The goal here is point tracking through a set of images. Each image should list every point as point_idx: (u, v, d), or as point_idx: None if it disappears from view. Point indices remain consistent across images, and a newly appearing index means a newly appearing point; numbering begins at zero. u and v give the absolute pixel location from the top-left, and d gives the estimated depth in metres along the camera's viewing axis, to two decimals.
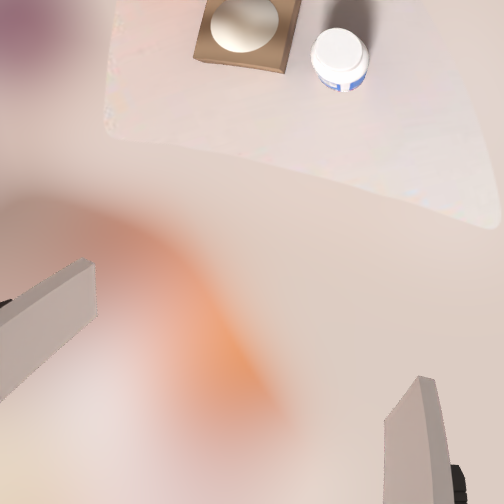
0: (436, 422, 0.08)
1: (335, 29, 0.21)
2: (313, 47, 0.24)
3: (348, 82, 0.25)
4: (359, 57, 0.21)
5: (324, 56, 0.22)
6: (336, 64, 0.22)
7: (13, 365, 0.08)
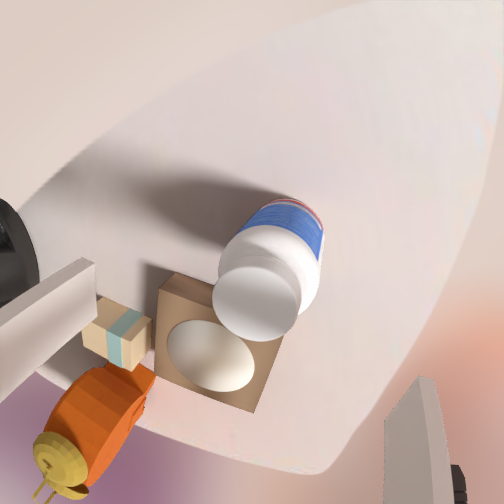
0: (436, 422, 0.08)
1: (215, 304, 0.15)
2: None
3: (317, 270, 0.16)
4: (270, 275, 0.13)
5: (270, 330, 0.15)
6: (286, 315, 0.14)
7: (13, 365, 0.08)
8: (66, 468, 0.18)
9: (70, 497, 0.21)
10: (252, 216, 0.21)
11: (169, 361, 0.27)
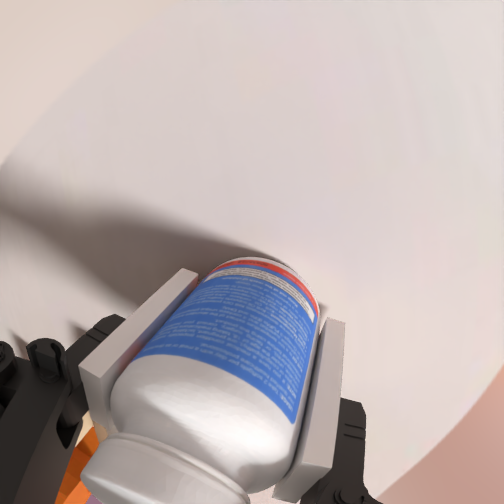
0: (334, 355, 0.10)
1: (94, 494, 0.06)
2: None
3: (290, 445, 0.07)
4: None
5: None
6: None
7: None
8: None
9: None
10: (191, 293, 0.12)
11: None
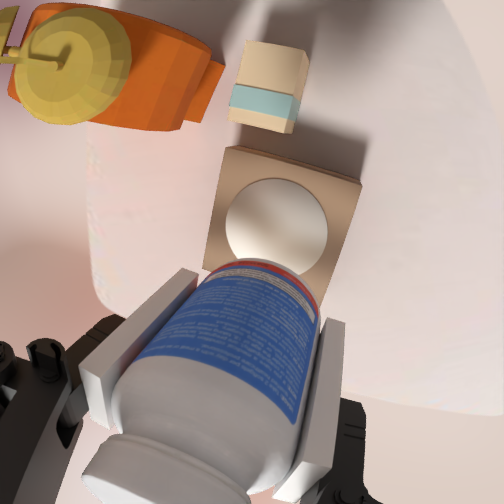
0: (334, 355, 0.10)
1: (95, 495, 0.06)
2: None
3: (291, 446, 0.07)
4: None
5: None
6: None
7: None
8: (74, 101, 0.10)
9: None
10: (191, 294, 0.12)
11: (257, 176, 0.22)
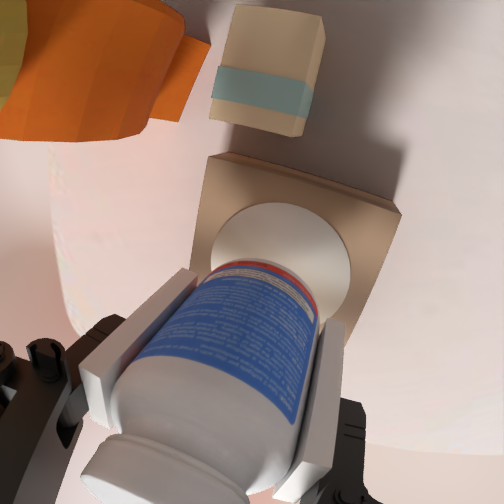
0: (334, 355, 0.10)
1: (94, 495, 0.06)
2: None
3: (290, 446, 0.07)
4: None
5: None
6: None
7: None
8: None
9: None
10: (191, 294, 0.12)
11: (252, 199, 0.16)
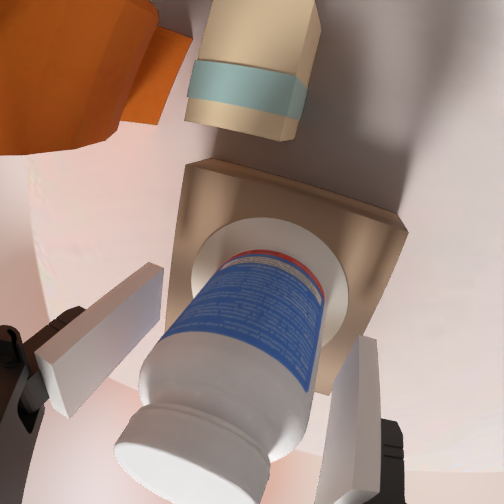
0: (370, 375, 0.09)
1: (124, 467, 0.07)
2: None
3: (304, 411, 0.08)
4: (198, 468, 0.05)
5: None
6: None
7: (89, 374, 0.09)
8: None
9: None
10: (208, 280, 0.13)
11: (236, 213, 0.14)
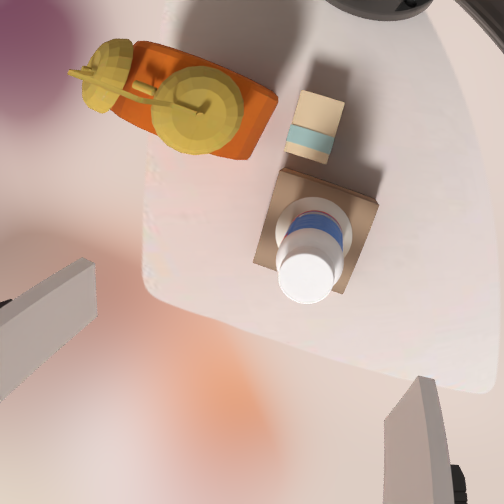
0: (436, 422, 0.08)
1: (280, 278, 0.23)
2: None
3: (343, 258, 0.24)
4: (318, 258, 0.21)
5: (315, 295, 0.23)
6: (326, 285, 0.22)
7: (13, 365, 0.08)
8: (209, 142, 0.18)
9: (95, 100, 0.18)
10: (293, 221, 0.29)
11: (302, 194, 0.30)
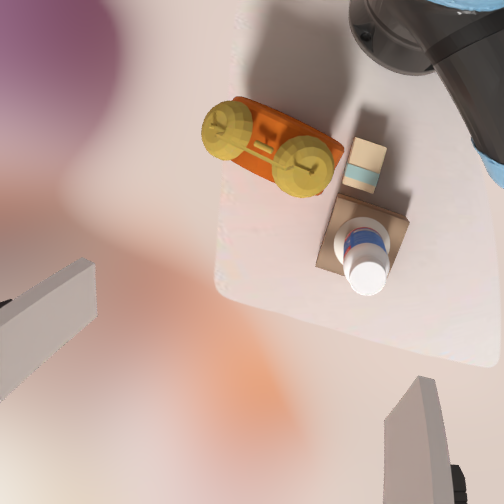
0: (436, 422, 0.08)
1: (351, 278, 0.32)
2: None
3: (389, 263, 0.33)
4: (377, 264, 0.31)
5: (373, 289, 0.32)
6: (381, 282, 0.31)
7: (13, 365, 0.08)
8: (314, 190, 0.27)
9: (223, 152, 0.27)
10: (350, 236, 0.38)
11: (354, 215, 0.39)
